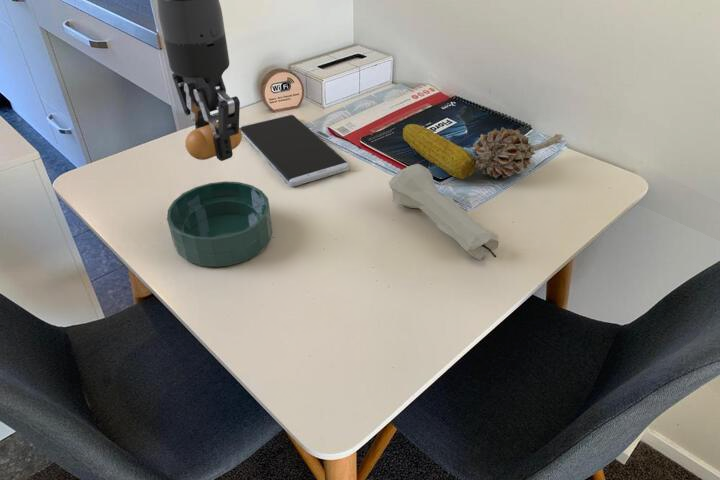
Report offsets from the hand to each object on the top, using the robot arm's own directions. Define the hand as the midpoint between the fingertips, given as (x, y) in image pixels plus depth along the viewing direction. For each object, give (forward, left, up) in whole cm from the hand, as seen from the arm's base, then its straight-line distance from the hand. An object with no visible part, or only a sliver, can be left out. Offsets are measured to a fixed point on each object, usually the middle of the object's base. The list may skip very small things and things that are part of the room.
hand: (216, 151), depth 76 cm
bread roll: (0, 0, 0) cm, 0 cm away
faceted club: (+35, -4, -17) cm, 39 cm away
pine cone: (+57, +12, -17) cm, 61 cm away
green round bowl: (-1, +2, -17) cm, 17 cm away
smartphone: (+14, +29, -17) cm, 36 cm away
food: (+42, +19, -17) cm, 49 cm away
